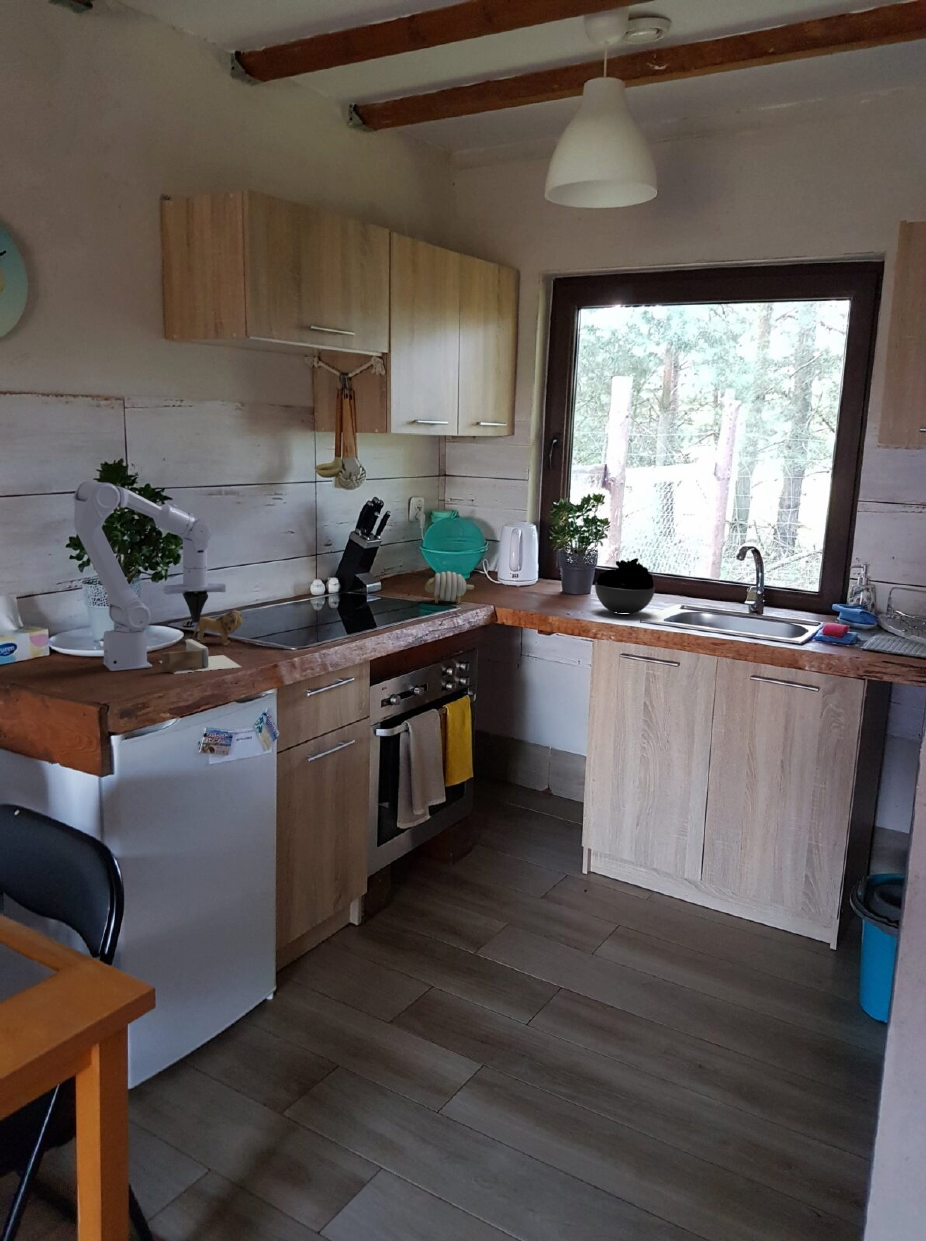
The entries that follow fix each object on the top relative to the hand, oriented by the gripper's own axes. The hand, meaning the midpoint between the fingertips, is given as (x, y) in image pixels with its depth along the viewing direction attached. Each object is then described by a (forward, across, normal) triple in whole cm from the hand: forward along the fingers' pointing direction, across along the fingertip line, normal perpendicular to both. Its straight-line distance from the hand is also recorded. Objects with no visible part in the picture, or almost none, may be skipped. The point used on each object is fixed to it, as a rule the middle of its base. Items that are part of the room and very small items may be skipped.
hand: (195, 621), depth 234 cm
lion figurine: (+9, -9, -14) cm, 19 cm away
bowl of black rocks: (+8, -147, -14) cm, 148 cm away
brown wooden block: (+9, +6, +13) cm, 17 cm away
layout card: (+9, +1, +8) cm, 12 cm away
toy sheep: (+9, -99, -49) cm, 111 cm away
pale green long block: (+8, +1, +7) cm, 11 cm away
